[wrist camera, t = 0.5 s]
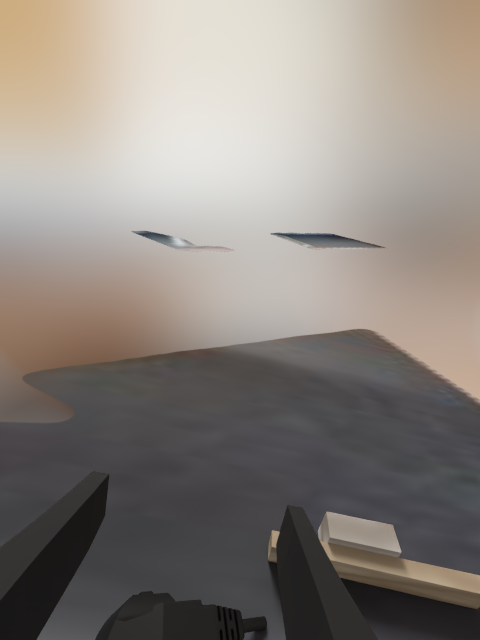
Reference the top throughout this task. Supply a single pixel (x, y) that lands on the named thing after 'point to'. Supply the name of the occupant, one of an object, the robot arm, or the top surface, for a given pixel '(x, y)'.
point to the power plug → (176, 620)
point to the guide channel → (386, 561)
